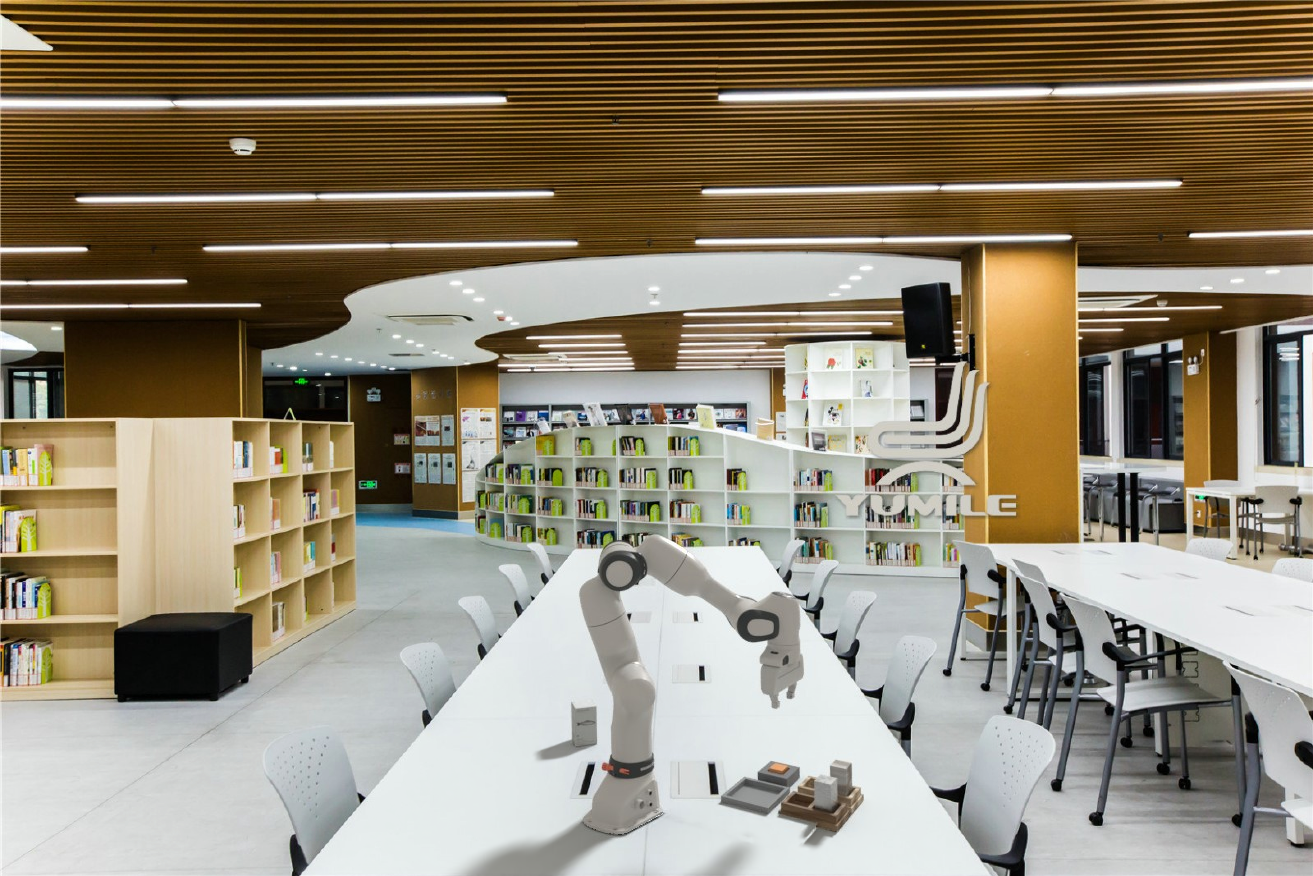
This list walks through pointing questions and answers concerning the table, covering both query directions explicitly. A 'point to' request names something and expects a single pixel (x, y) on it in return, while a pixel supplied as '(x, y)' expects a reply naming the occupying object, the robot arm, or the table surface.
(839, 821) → the pallet
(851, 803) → the tray
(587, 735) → the supplement box
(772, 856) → the table surface
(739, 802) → the tray
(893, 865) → the table surface
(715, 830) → the table surface
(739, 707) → the table surface
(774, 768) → the button
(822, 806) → the block
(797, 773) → the button console
